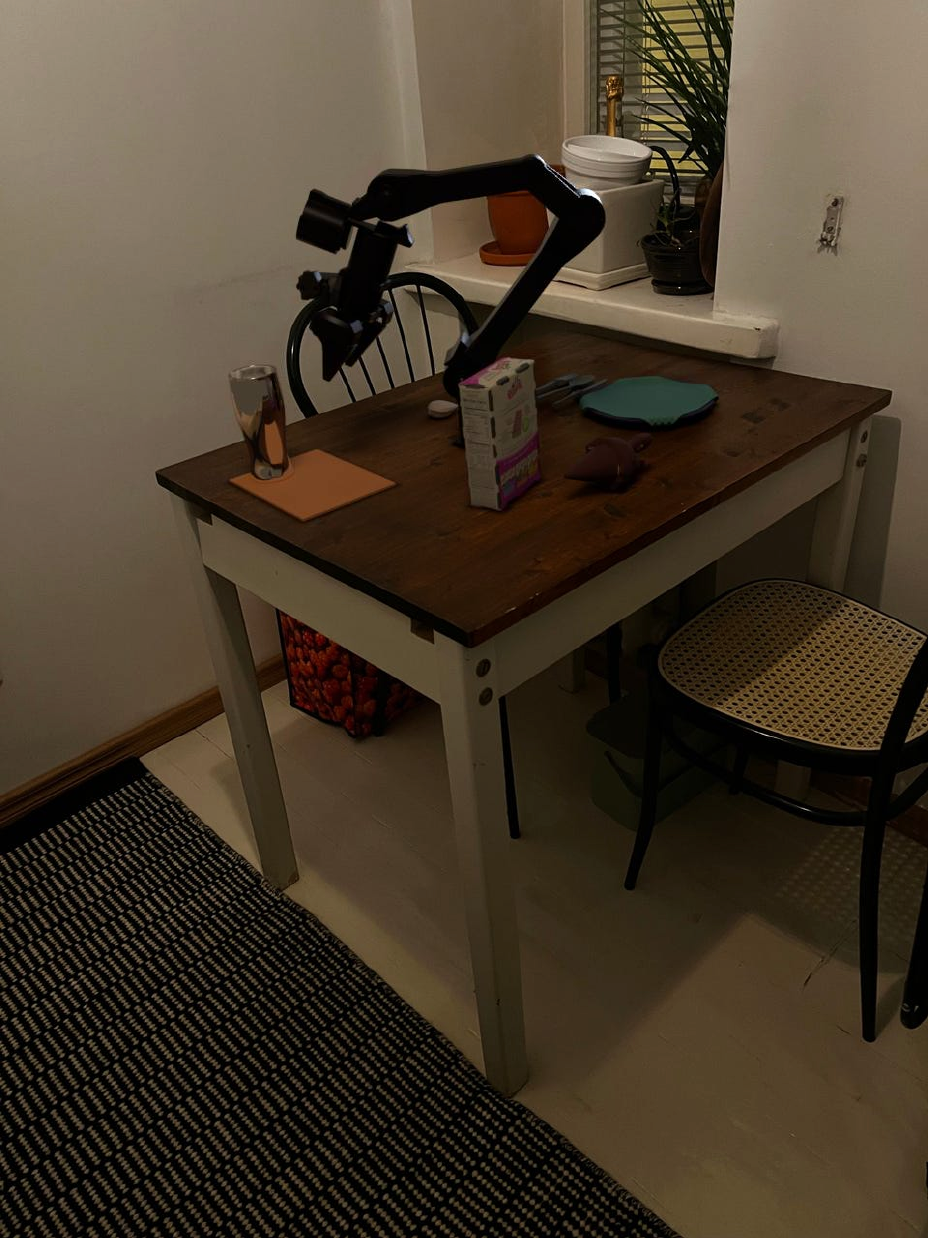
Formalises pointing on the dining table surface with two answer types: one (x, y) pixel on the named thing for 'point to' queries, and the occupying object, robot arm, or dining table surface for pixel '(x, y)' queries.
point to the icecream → (610, 461)
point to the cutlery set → (637, 398)
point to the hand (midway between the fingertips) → (337, 373)
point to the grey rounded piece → (441, 408)
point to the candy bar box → (500, 432)
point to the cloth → (316, 485)
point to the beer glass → (262, 420)
